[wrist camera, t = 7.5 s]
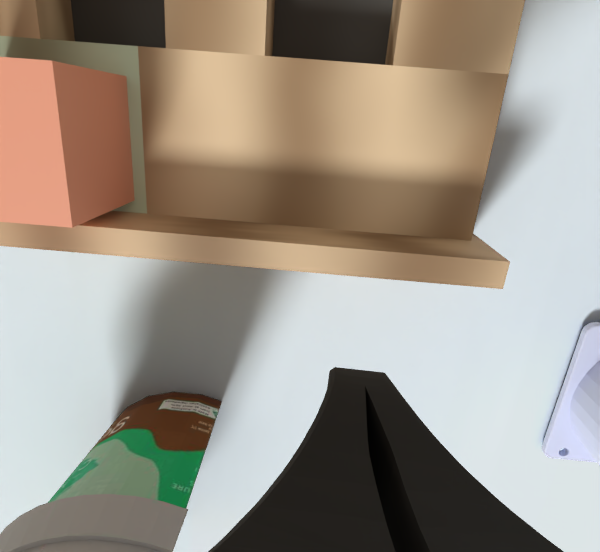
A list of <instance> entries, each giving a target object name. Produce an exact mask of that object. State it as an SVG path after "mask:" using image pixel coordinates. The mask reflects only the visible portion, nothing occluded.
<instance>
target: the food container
mask: <svg viewBox="0 0 600 552" xmlns="http://www.w3.org/2000/svg"><path fill="white" fill-rule="evenodd" d="M221 403H222V401H219V400H216V399H213V398H211V397H208V396H205V395H201V394H191V393H181V392H170V393H164V394H158V395H152V396H148V397H146V398H144V399H142V400H140V401H138V402H136V403H134V404H132V405H130V406H129V407H127V408H126V409H125V410H124V412H123V413H122V414H121V415H120V416H119V417H118V418H117V419H116V420H115V422H114V423H113V424H112V425H111V426H110V428H109V429H108V430H107V431H106V433H105V434H104V435H103V436H102V437H101V439H100V440H99V441H98V442H97V444H96V445H95V446H94V447H93V448H92V450H91V451H90V452H89V453H88V454H87V456H86V457H85V458H84V459H83V461H82V462H81V463H80V464H79V465H78V467H77V468H76V469H75V470H74V472H73V473H72V474H71V475H70V476H69V478H68V479H67V480H66V481H65V483H64V484H63V485H62V486H61V487H60V489H59V490H58V491H57V492H56V493H55V495H54V496H53V497H52V498H51V500H50V501H49V502H48V503H46V504H43V505H40V506H38V507H36V508H34V509H32V510H30V511H28V512H26V513H24V514H22V515H21V516H19V517H18V518H17V519H16V520H14V521H13V522H12V523H11V524H9V525H8V526H7V527H6V528H5V529H4V530H3V532H2V533H1V534H0V552H172V551H173V549H174V546H175V544H176V541H177V538H178V535H179V533H180V530H181V527H182V524H183V522H184V519H185V516H186V514H187V511H188V509H186V507H187V504H188V501H189V498H190V495H191V492H192V489H193V486H194V483H195V480H196V477H197V474H198V471H199V468H200V465H201V462H202V459H203V456H204V453H205V450H206V447H207V444H208V441H209V438H210V435H211V432H212V429H213V426H214V423H215V420H216V418H217V415H218V412H219V409H220V406H221Z"/></svg>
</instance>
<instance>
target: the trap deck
mask: <svg viewBox="0 0 600 552" xmlns="http://www.w3.org/2000/svg"><path fill="white" fill-rule="evenodd" d="M524 3H525V0H0V57H10V58H24V59H37V60H51V61H56V62H61V63H66V64H70V65H75V66H80V67H85V68H89V69H94V70H99V71H104V72H108V73H113V74H118V75H122V76H126V77H127V92H128V108H129V123H130V138H131V153H132V168H133V183H134V198H135V200H134V201H132V202H130V203H127V204H125V205H123V206H121V207H118V208H116V209H114V210H112V211H109V212H107V213H105V214H102V215H100V216H98V217H96V218H93V219H91V220H89V221H87V222H84V223H82V224H80V225H77V226H75V227H73V228H70V227H57V226H45V225H33V224H21V223H9V222H0V246H9V247H21V248H33V249H44V250H56V251H68V252H79V253H91V254H103V255H114V256H126V257H137V258H149V259H161V260H172V261H184V262H196V263H207V264H219V265H230V266H242V267H254V268H265V269H277V270H289V271H300V272H312V273H324V274H335V275H347V276H358V277H370V278H382V279H393V280H405V281H417V282H428V283H440V284H451V285H463V286H475V287H486V288H498V289H503V286H504V283H505V279H506V275H507V271H508V267H509V264H510V262H509V261H508V260H507V259H506V258H504V257H503V256H502V255H500V254H499V253H498V252H496V251H495V250H494V249H493V248H491V247H490V246H489V245H487V244H486V243H485V242H483V241H482V240H481V239H479V238H478V237H477V236H476V235H474V234H473V230H474V226H475V221H476V217H477V212H478V208H479V203H480V199H481V194H482V190H483V186H484V181H485V177H486V172H487V168H488V163H489V159H490V154H491V150H492V145H493V141H494V136H495V132H496V128H497V123H498V119H499V114H500V110H501V105H502V101H503V96H504V92H505V87H506V83H507V79H508V74H509V70H510V65H511V61H512V56H513V52H514V47H515V43H516V38H517V34H518V29H519V25H520V21H521V16H522V12H523V7H524Z"/></svg>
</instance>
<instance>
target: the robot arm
mask: <svg viewBox="0 0 600 552" xmlns="http://www.w3.org/2000/svg"><path fill="white" fill-rule="evenodd" d="M563 448H564V449H563ZM561 449H563V450H561ZM542 451H543V452H544V454H545V455H546V456H547V457H549V458H557V459H567V460H578V461H589V462H597V463H598V464H599V465H600V322H591V323H589V324H587V325H586V326H584V328H583V329H582V331H581V334H580V337H579V340H578V343H577V346H576V349H575V351H574V354H573V357H572V360H571V363H570V366H569V369H568V372H567V375H566V377H565V380H564V383H563V386H562V389H561V392H560V395H559V398H558V400H557V403H556V406H555V409H554V412H553V415H552V418H551V421H550V424H549V426H548V429H547V432H546V435H545V438H544V441H543V444H542ZM209 552H563V551H562V550H561V549H559V548H558V547H557V546H555V545H554V544H553V543H551V542H550V541H549V540H547V539H546V538H545V537H543V536H542V535H541V534H540V533H538V532H537V531H536V530H535V529H533V528H532V527H531V526H530V525H528V524H527V523H526V522H525V521H523V520H522V519H521V518H520V517H518V516H517V515H516V514H515V513H513V512H512V511H511V510H510V509H509V508H507V507H506V506H505V505H504V504H503V503H502V502H500V501H499V500H498V499H497V498H496V497H495V496H494V495H493V494H491V493H490V492H489V491H488V490H487V489H486V488H485V487H484V486H483V485H482V484H481V483H480V482H478V481H477V480H476V479H475V478H474V477H473V476H472V475H471V474H470V473H469V472H468V471H467V470H466V469H465V468H464V467H463V466H462V465H461V464H460V463H459V462H458V461H457V460H456V459H455V458H454V457H453V456H452V455H451V454H450V453H449V452H448V451H447V449H446V448H445V447H444V446H443V445H442V444H441V443H440V442H439V441H438V440H437V439H436V437H435V436H434V435H433V434H432V433H431V432H430V431H429V429H428V428H427V427H426V426H425V424H424V423H423V422H422V421H421V420H420V418H419V417H418V416H417V415H416V413H415V412H414V411H413V410H412V408H411V407H410V406H409V404H408V403H407V402H406V401H405V399H404V398H403V397H402V395H401V394H400V393H399V391H398V390H397V389H396V387H395V386H394V385H393V383H392V382H391V381H390V379H389V378H388V377H387V375H386V374H385V373H382V372H373V371H364V370H355V369H345V368H336V367H335V368H333V369H332V370H330V373H329V380H328V387H327V391H326V394H325V397H324V400H323V402H322V404H321V407H320V409H319V411H318V414H317V416H316V418H315V420H314V422H313V424H312V425H311V427H310V429H309V431H308V433H307V434H306V436H305V438H304V440H303V442H302V443H301V445H300V446H299V448H298V450H297V451H296V453H295V454H294V456H293V457H292V459H291V460H290V462H289V463H288V464H287V466H286V467H285V469H284V470H283V471H282V473H281V474H280V475H279V477H278V478H277V479H276V480H275V482H274V483H273V484H272V485H271V487H270V488H269V489H268V491H267V492H266V493H265V494H264V495H263V497H262V498H261V499H260V500H259V501H258V502H257V503H256V505H255V506H254V507H253V508H252V509H251V510H250V511H249V512H248V513H247V514H246V515H245V516H244V517H243V518H242V519H241V520H240V521H239V522H238V523H237V524H236V526H235V527H234V528H233V529H232V530H231V531H230V532H229V533H228V534H227V535H226V536H225V537H224V538H223V539H222V540H221V541H220V542H219V543H218V544H216V545H215V546H214V547H213V548H212V549H211V550H210V551H209Z"/></svg>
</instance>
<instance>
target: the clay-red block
mask: <svg viewBox="0 0 600 552" xmlns="http://www.w3.org/2000/svg"><path fill="white" fill-rule="evenodd" d="M134 200H135V198H134V183H133V168H132V153H131V138H130V123H129V108H128V92H127V77H126V76H122V75H118V74H113V73H108V72H104V71H99V70H94V69H89V68H85V67H80V66H75V65H70V64H66V63H61V62H56V61H51V60H37V59H24V58H10V57H0V222H9V223H21V224H33V225H45V226H57V227H70V228H73V227H75V226H77V225H80V224H82V223H84V222H87V221H89V220H91V219H93V218H96V217H98V216H100V215H102V214H105V213H107V212H109V211H112V210H114V209H116V208H118V207H121V206H123V205H125V204H127V203H130V202H132V201H134Z"/></svg>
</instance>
